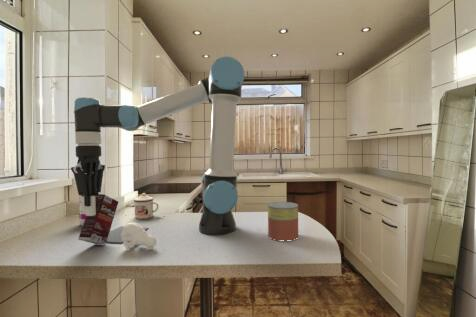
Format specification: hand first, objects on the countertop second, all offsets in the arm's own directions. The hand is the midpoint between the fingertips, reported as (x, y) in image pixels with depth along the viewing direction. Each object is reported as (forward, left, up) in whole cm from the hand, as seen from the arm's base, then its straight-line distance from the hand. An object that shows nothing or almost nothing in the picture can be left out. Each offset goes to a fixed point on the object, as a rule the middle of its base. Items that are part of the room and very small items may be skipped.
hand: (90, 215), depth 90 cm
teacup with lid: (+5, -43, -12) cm, 45 cm away
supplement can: (+24, -27, -12) cm, 38 cm away
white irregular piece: (-17, -3, -12) cm, 20 cm away
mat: (-1, -15, -11) cm, 19 cm away
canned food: (-63, -23, -12) cm, 68 cm away
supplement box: (0, -1, -10) cm, 10 cm away
